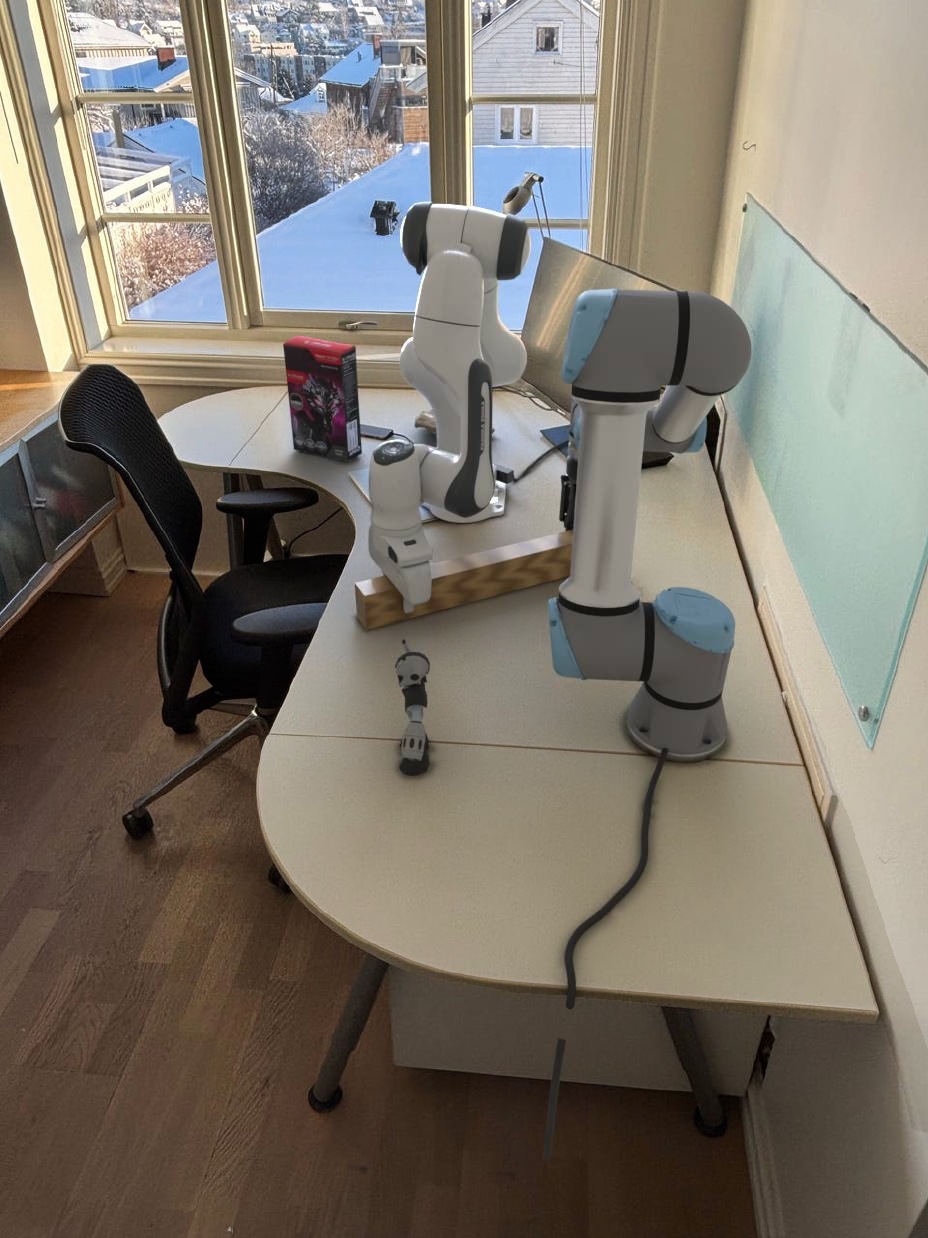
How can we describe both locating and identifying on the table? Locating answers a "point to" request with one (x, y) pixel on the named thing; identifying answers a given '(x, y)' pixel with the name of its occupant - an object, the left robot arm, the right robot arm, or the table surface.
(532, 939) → the table surface
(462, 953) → the table surface
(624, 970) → the table surface
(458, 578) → the post
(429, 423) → the stone
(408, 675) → the robot
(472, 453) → the left robot arm
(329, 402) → the graphics card box
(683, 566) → the table surface
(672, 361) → the right robot arm
